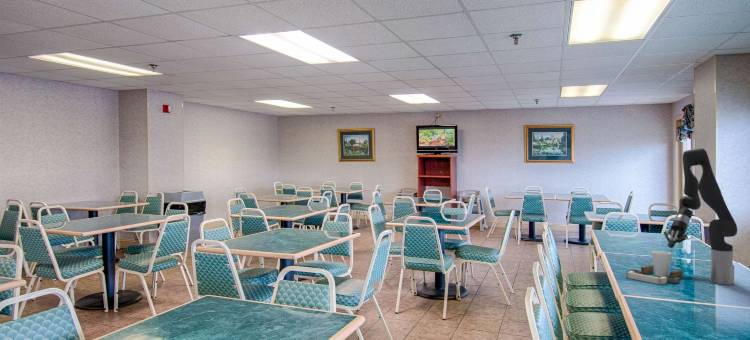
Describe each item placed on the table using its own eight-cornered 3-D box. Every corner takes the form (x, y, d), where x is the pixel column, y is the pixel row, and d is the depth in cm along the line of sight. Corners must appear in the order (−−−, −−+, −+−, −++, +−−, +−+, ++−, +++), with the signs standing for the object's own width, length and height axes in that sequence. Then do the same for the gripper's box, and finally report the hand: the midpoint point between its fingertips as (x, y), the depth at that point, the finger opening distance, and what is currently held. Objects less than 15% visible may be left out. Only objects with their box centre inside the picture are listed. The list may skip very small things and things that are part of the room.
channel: (682, 277, 257) (682, 270, 257) (673, 280, 252) (673, 272, 251) (649, 271, 271) (649, 264, 271) (641, 274, 266) (641, 267, 266)
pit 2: (679, 282, 247) (679, 277, 247) (674, 283, 244) (674, 279, 244) (668, 280, 252) (668, 275, 252) (663, 281, 249) (663, 277, 249)
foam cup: (675, 278, 257) (675, 254, 256) (657, 277, 257) (658, 254, 256) (664, 273, 266) (664, 251, 266) (648, 273, 266) (648, 250, 266)
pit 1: (642, 275, 263) (642, 271, 263) (637, 276, 260) (637, 272, 259) (632, 273, 267) (632, 269, 267) (627, 274, 264) (627, 270, 264)
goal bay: (666, 282, 246) (666, 277, 246) (661, 284, 243) (661, 278, 243) (631, 276, 261) (631, 270, 261) (626, 277, 258) (626, 272, 258)
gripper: (666, 218, 278) (655, 241, 271) (691, 220, 267) (681, 244, 260) (670, 226, 281) (660, 249, 274) (695, 229, 270) (685, 253, 263)
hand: (670, 247), depth 267 cm, fingers closed
